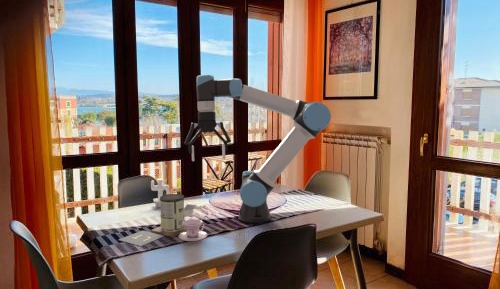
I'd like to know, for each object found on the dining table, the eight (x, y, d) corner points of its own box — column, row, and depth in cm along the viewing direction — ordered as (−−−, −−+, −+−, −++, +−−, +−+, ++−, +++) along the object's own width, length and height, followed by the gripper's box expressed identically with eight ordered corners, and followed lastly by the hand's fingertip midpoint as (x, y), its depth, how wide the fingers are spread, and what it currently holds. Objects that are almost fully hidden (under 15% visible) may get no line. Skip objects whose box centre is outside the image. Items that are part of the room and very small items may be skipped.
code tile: (164, 236, 154) (164, 235, 154) (140, 246, 143) (140, 245, 143) (142, 230, 161) (142, 230, 161) (118, 240, 150) (118, 239, 150)
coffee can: (165, 224, 167) (164, 193, 166) (187, 224, 166) (186, 194, 165) (157, 231, 157) (156, 199, 156) (180, 232, 156) (180, 199, 155)
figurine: (170, 207, 198) (169, 179, 196) (152, 208, 195) (151, 180, 193) (168, 203, 204) (168, 177, 203) (151, 205, 201) (150, 178, 200)
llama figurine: (200, 232, 178) (161, 219, 174) (209, 209, 178) (170, 195, 174) (200, 234, 176) (160, 221, 172) (210, 210, 176) (170, 196, 172)
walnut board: (193, 228, 164) (193, 226, 164) (173, 237, 153) (173, 235, 153) (172, 223, 171) (172, 221, 171) (151, 231, 160) (151, 229, 159)
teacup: (179, 243, 147) (178, 227, 146) (177, 232, 159) (177, 218, 158) (209, 240, 150) (208, 225, 149) (205, 230, 161) (205, 216, 161)
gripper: (177, 112, 154) (180, 162, 156) (236, 110, 160) (238, 158, 162) (176, 112, 161) (179, 160, 163) (232, 110, 167) (234, 156, 169)
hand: (208, 159), depth 163 cm, fingers open, 13 cm apart
